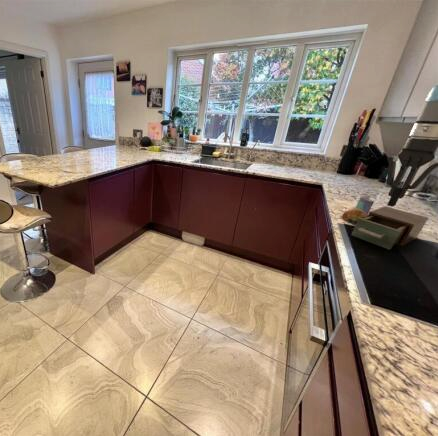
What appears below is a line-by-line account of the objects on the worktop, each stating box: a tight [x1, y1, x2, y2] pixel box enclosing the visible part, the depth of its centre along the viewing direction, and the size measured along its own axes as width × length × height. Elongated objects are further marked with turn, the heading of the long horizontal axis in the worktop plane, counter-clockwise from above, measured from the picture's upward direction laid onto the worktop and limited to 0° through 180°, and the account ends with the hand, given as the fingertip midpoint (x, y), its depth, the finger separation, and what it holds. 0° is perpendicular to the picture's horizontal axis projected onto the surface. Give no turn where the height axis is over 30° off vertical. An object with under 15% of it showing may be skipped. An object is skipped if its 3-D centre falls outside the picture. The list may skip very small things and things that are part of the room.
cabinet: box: [367, 205, 429, 247], centre depth 99 cm, size 16×14×10 cm
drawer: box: [350, 215, 410, 251], centre depth 93 cm, size 20×13×8 cm, turn 118°
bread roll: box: [341, 207, 369, 225], centre depth 112 cm, size 10×10×8 cm
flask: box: [354, 194, 375, 214], centre depth 120 cm, size 9×3×11 cm, turn 164°
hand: (391, 205), depth 85 cm, fingers closed
